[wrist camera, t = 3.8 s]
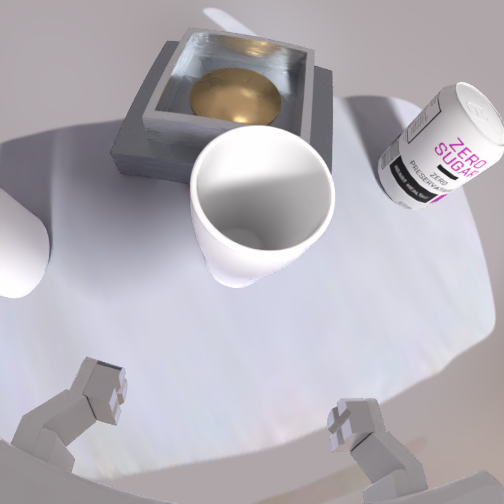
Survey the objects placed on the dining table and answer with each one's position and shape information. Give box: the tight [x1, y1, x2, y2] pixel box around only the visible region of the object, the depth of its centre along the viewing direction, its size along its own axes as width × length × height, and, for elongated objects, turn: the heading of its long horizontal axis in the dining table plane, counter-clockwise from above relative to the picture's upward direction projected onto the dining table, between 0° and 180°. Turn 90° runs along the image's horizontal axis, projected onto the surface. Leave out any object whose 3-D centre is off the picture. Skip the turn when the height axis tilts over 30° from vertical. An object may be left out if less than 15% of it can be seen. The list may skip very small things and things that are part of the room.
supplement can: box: [378, 82, 504, 211], centre depth 26 cm, size 8×8×15 cm
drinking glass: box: [190, 125, 335, 288], centre depth 20 cm, size 7×7×15 cm
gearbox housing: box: [110, 28, 333, 184], centre depth 28 cm, size 20×17×8 cm
